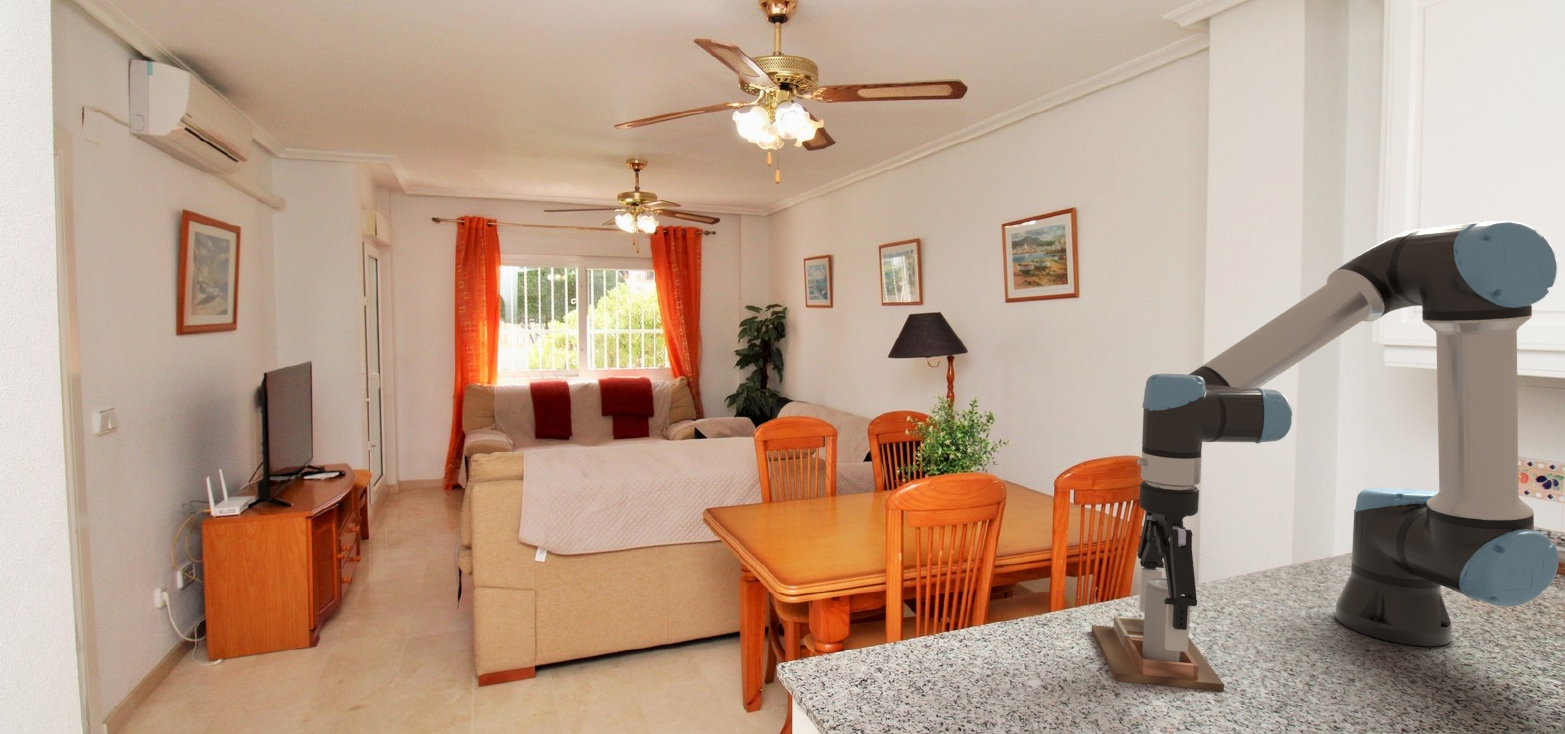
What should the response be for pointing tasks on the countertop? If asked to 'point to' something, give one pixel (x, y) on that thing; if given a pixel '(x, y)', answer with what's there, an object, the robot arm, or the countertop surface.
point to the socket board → (1129, 666)
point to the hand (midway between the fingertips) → (1161, 629)
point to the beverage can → (1156, 622)
